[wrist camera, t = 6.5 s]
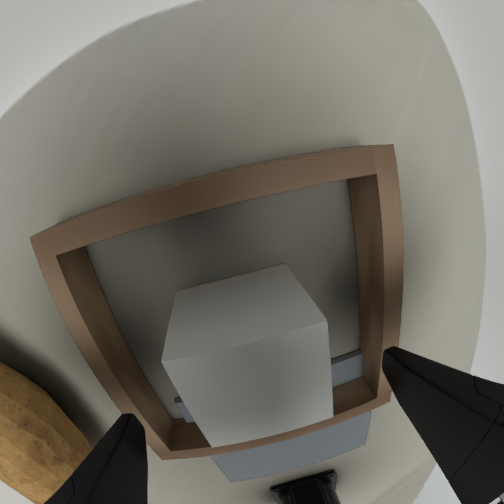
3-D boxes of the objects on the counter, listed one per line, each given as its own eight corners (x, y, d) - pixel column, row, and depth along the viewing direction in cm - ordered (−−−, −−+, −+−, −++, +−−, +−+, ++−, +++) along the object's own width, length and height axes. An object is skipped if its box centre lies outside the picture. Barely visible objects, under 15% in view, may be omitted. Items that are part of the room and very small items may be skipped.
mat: (363, 440, 19) (365, 444, 18) (230, 478, 18) (230, 482, 18) (374, 343, 15) (377, 347, 14) (175, 398, 14) (174, 403, 14)
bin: (372, 376, 16) (389, 401, 13) (164, 430, 15) (162, 459, 12) (361, 145, 11) (393, 144, 9) (58, 223, 10) (29, 237, 8)
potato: (-4, 286, 11) (-87, 363, 3) (143, 441, 15) (134, 536, 8) (-42, 340, 11) (-91, 397, 3) (71, 456, 15) (55, 524, 8)
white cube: (299, 348, 14) (333, 416, 9) (208, 371, 14) (212, 447, 9) (285, 262, 13) (327, 320, 8) (176, 290, 12) (160, 361, 7)
